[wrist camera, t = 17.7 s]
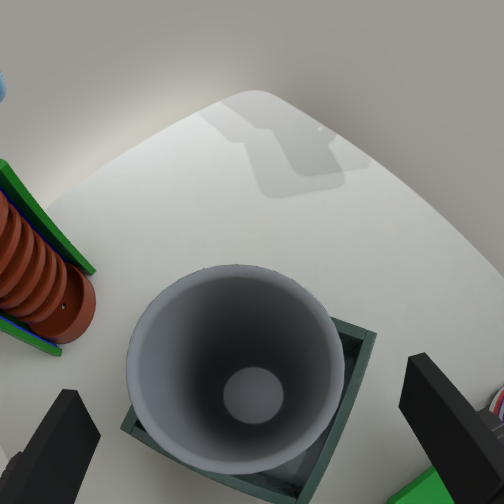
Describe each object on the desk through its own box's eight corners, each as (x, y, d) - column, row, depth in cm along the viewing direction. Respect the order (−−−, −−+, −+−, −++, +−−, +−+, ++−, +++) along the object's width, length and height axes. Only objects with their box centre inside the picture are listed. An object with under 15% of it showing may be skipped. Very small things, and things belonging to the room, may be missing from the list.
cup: (226, 450, 20) (164, 497, 7) (196, 369, 23) (107, 302, 10) (312, 418, 21) (380, 420, 8) (278, 340, 24) (290, 237, 11)
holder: (150, 427, 21) (119, 428, 16) (215, 298, 27) (203, 267, 22) (295, 492, 18) (303, 513, 13) (354, 351, 24) (377, 332, 19)
